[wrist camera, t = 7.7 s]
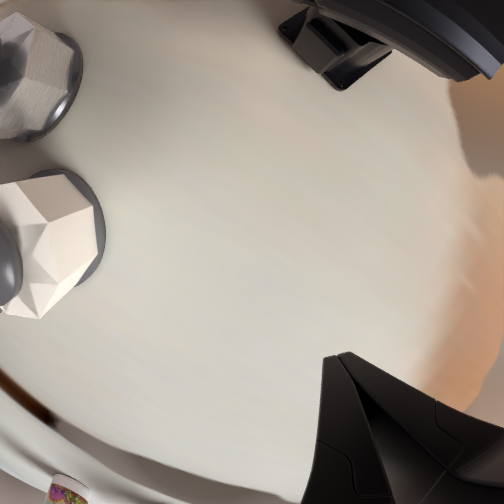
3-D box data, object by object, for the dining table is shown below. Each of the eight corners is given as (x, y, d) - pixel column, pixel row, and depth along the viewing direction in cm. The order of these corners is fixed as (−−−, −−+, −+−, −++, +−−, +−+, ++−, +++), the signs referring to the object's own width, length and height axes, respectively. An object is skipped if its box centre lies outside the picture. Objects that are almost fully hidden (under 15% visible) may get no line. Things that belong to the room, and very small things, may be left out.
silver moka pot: (50, 20, 13) (9, -5, 7) (104, 67, 15) (61, 38, 9) (-21, 124, 15) (-68, 125, 9) (21, 184, 17) (-32, 197, 11)
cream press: (51, 144, 17) (-4, 144, 11) (129, 226, 19) (88, 254, 13) (-3, 248, 19) (-47, 272, 12) (61, 319, 21) (25, 360, 15)
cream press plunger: (34, 188, 15) (-24, 202, 10) (77, 235, 17) (24, 267, 11) (9, 238, 16) (-42, 264, 10) (48, 282, 17) (1, 321, 12)
